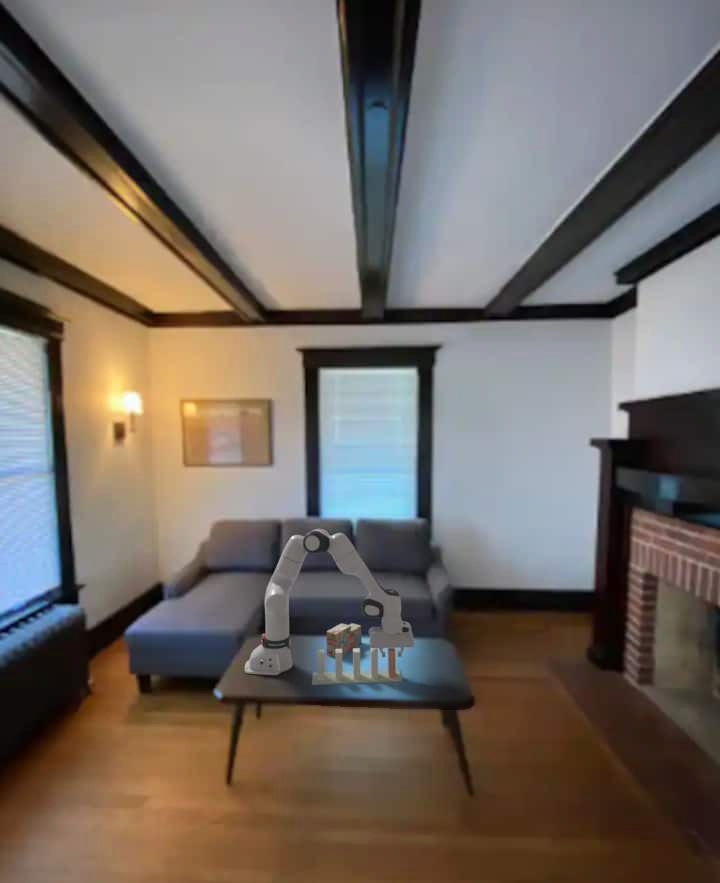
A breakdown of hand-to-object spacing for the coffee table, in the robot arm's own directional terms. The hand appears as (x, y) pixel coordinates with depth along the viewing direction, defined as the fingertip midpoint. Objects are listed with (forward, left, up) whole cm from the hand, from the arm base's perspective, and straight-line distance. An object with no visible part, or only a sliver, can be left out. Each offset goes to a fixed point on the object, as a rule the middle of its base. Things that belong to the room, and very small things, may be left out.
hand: (391, 656), depth 217 cm
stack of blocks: (-21, +29, -10) cm, 37 cm away
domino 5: (0, 0, -9) cm, 9 cm away
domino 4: (-8, 0, -9) cm, 12 cm away
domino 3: (-16, 0, -9) cm, 18 cm away
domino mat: (-16, 0, -9) cm, 18 cm away
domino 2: (-24, 0, -9) cm, 25 cm away
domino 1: (-32, 0, -9) cm, 33 cm away
